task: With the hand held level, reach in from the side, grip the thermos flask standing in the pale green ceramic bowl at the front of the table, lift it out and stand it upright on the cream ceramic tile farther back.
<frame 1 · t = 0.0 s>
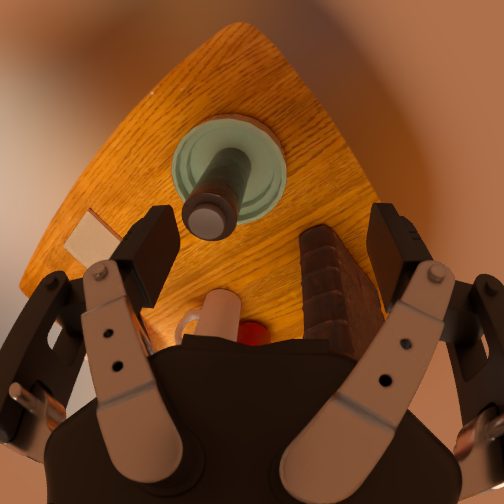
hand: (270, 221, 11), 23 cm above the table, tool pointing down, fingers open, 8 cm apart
thermos flask: (231, 166, 33), point 1 cm above the table, touching celadon bowl
book: (341, 263, 42), on the table
celadon bowl: (232, 164, 34), on the table
apple: (252, 328, 53), on the table
mug: (214, 299, 49), on the table
tile: (100, 250, 45), on the table
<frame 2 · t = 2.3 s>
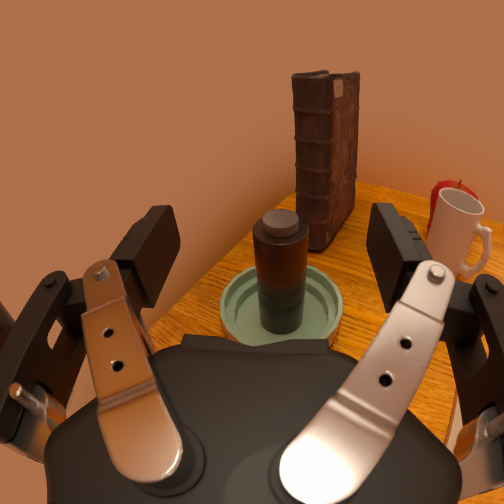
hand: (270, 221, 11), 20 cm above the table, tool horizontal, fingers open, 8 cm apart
thermos flask: (281, 317, 32), point 1 cm above the table, touching celadon bowl
book: (322, 224, 47), on the table
celadon bowl: (281, 320, 32), on the table
apple: (442, 242, 41), on the table
mug: (443, 279, 34), on the table
tile: (492, 418, 17), on the table
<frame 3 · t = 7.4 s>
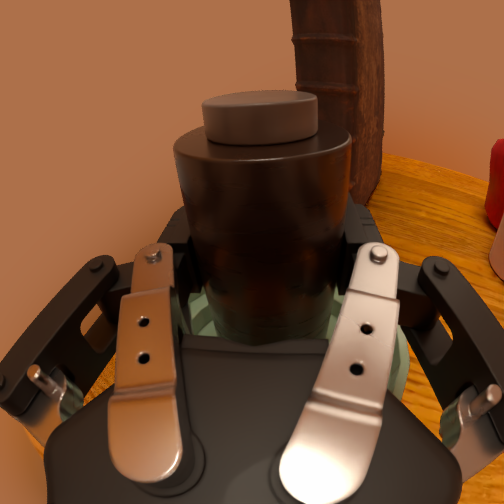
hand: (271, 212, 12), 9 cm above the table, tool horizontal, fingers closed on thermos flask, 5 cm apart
thermos flask: (273, 367, 15), point 1 cm above the table, touching celadon bowl, gripper
book: (338, 199, 30), on the table
celadon bowl: (273, 373, 15), on the table
apple: (503, 227, 24), on the table
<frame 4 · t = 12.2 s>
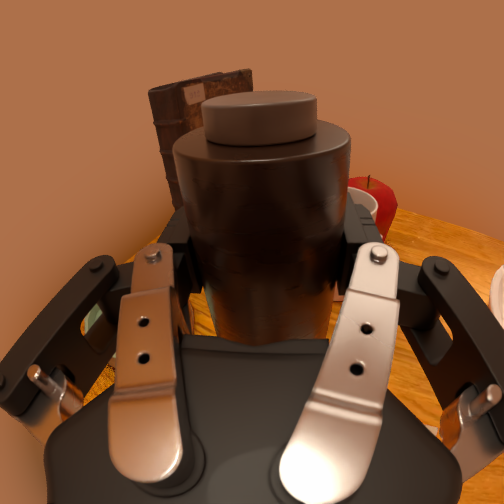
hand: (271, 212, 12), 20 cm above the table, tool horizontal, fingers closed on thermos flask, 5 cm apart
thermos flask: (273, 367, 15), point 12 cm above the table, touching gripper
book: (222, 231, 47), on the table
celadon bowl: (143, 328, 32), on the table
apple: (358, 248, 41), on the table
mug: (341, 293, 35), on the table
when the fingers open (9 cm above the table, at t = 16.8 s): thermos flask stays where it is, resting on tile.
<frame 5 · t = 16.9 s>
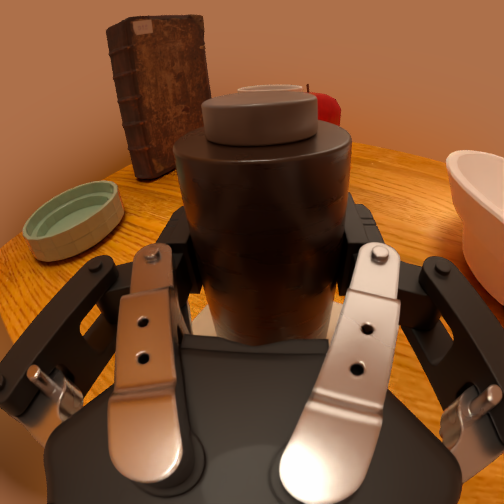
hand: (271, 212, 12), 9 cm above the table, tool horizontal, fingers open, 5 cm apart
thermos flask: (273, 368, 15), point 1 cm above the table, touching tile
book: (175, 162, 45), on the table
celadon bowl: (77, 231, 30), on the table
apple: (309, 166, 39), on the table
mug: (281, 194, 32), on the table
tile: (273, 373, 15), on the table
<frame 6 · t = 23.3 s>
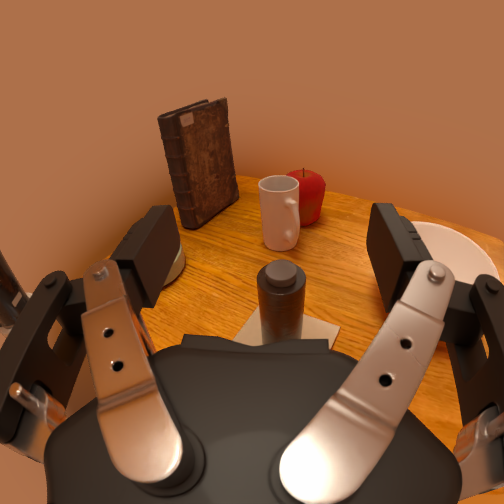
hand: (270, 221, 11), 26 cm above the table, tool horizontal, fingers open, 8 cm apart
thermos flask: (281, 345, 35), point 1 cm above the table, touching tile
bowl: (426, 301, 39), on the table
book: (208, 211, 66), on the table
celadon bowl: (151, 269, 51), on the table
apple: (303, 220, 60), on the table
mug: (284, 247, 53), on the table
tile: (281, 348, 36), on the table
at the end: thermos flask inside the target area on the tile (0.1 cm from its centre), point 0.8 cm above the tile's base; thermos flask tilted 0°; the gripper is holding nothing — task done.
